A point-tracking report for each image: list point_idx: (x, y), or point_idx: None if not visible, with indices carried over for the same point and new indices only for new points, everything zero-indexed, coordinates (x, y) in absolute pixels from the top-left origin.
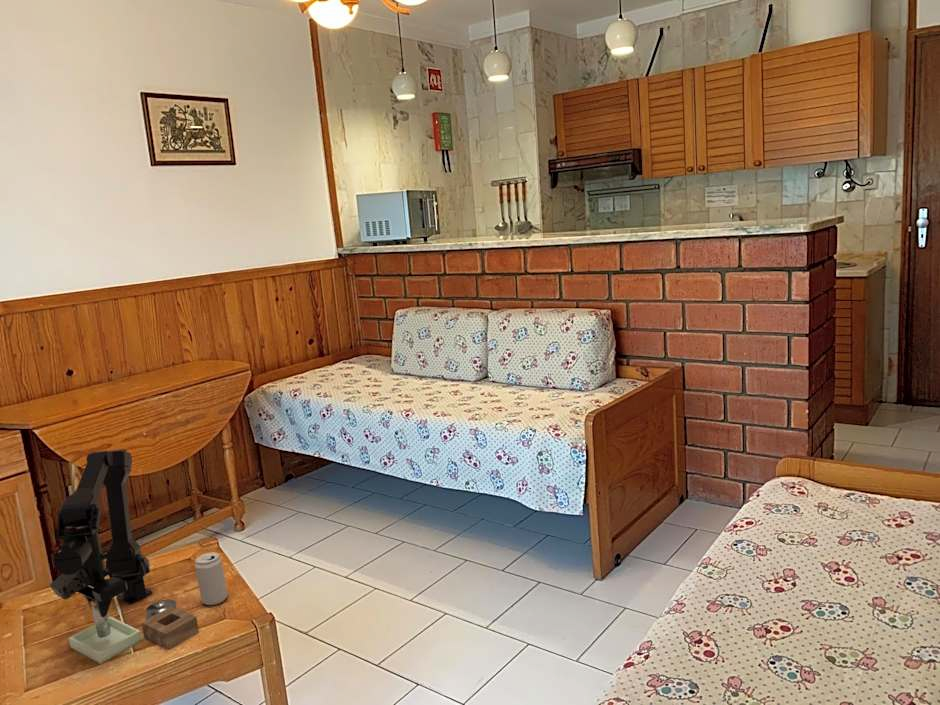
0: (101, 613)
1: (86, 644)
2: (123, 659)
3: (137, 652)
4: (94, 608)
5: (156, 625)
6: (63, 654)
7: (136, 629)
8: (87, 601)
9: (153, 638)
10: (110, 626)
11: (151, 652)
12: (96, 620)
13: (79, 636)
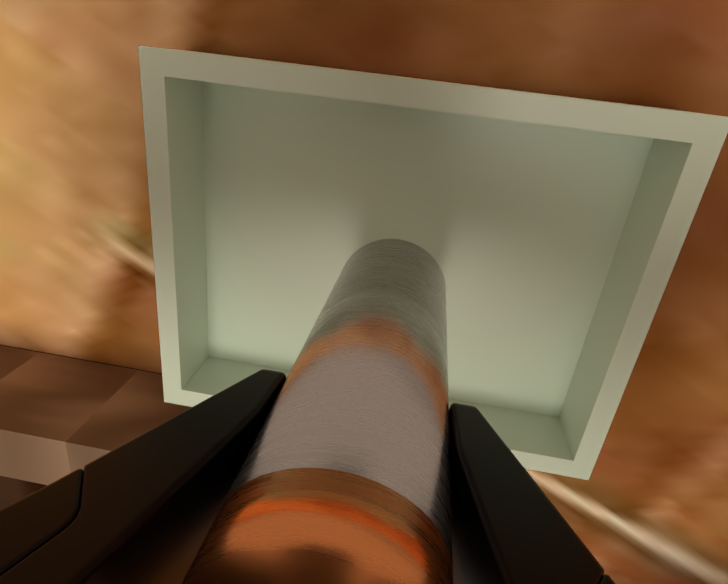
0: (214, 400)
1: (535, 182)
2: (97, 168)
3: (97, 260)
4: (291, 440)
5: (18, 457)
6: (662, 2)
7: None
8: (581, 573)
9: (90, 380)
10: (551, 409)
11: (23, 289)
12: (350, 318)
13: (655, 205)
